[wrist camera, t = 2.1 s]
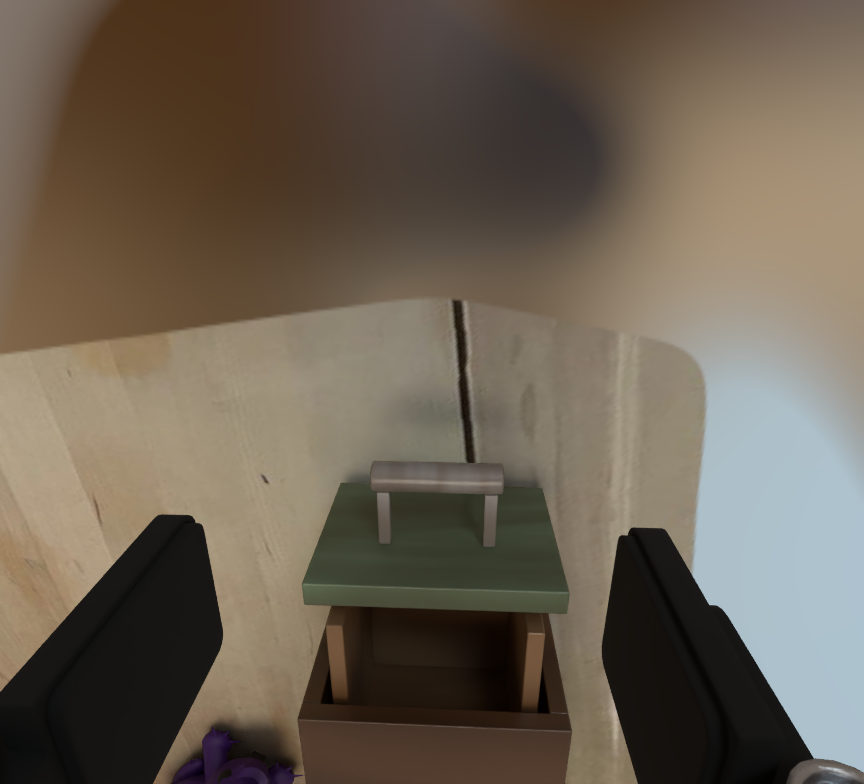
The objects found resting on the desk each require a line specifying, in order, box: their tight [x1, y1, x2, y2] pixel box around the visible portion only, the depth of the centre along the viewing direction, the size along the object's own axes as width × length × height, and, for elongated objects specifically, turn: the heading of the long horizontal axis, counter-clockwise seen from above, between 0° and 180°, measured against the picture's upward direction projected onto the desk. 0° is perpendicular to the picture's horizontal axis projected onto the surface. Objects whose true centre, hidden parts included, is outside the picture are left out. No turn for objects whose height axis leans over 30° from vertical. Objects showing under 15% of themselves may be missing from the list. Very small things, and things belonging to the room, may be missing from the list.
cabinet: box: [298, 606, 572, 784], centre depth 33 cm, size 15×13×10 cm
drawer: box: [302, 461, 569, 713], centre depth 29 cm, size 18×12×8 cm, turn 0°
